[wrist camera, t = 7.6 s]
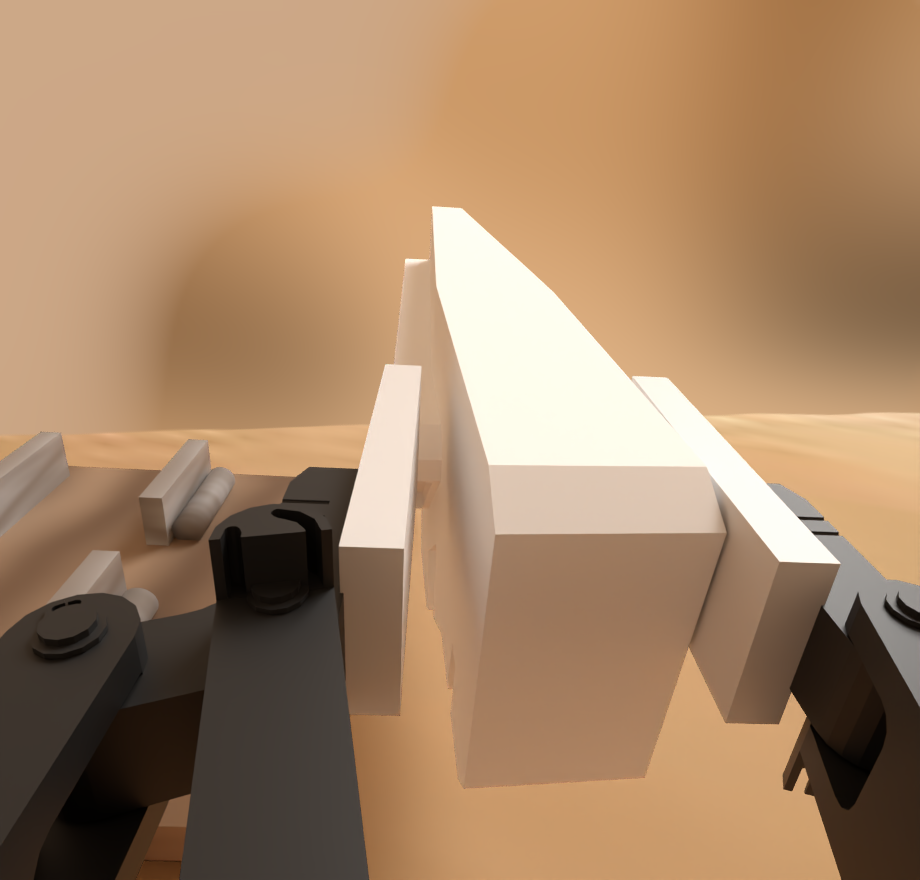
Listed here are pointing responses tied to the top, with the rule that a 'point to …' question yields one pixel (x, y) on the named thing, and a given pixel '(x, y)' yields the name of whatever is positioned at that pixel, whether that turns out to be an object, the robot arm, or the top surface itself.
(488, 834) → the top surface
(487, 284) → the shelf bracket
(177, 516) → the hinge board
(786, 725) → the top surface
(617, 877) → the top surface
